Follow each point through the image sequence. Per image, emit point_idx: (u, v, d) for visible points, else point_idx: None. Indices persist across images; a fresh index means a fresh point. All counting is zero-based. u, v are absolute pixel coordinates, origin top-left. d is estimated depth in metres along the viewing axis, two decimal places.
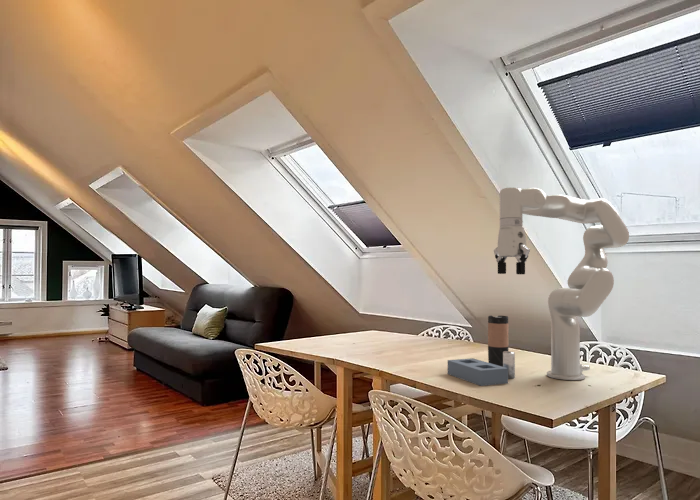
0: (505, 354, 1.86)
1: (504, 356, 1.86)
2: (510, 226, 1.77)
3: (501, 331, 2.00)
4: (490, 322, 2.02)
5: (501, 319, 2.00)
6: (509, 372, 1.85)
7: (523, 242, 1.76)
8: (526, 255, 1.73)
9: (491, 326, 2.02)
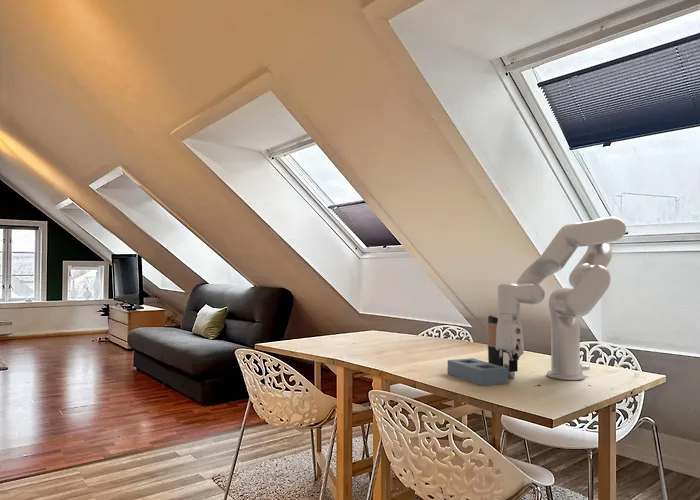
0: (505, 354, 1.85)
1: (504, 356, 1.86)
2: (508, 322, 1.84)
3: None
4: (490, 322, 2.02)
5: None
6: (509, 372, 1.85)
7: (520, 338, 1.83)
8: None
9: (491, 326, 2.02)
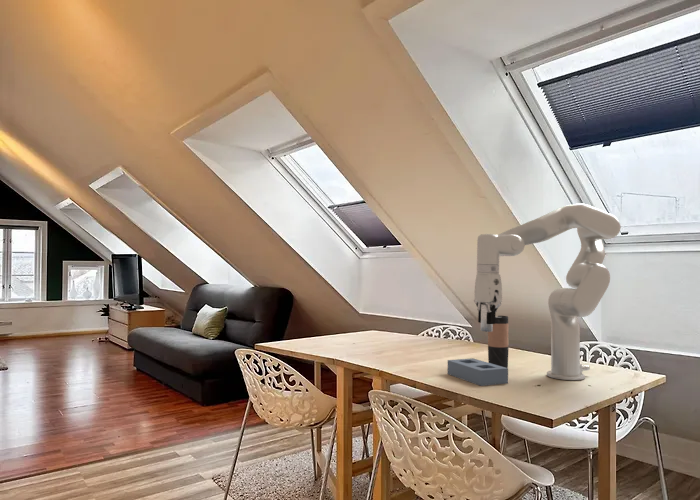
0: (483, 306, 1.80)
1: (482, 308, 1.81)
2: (486, 273, 1.78)
3: (501, 331, 2.00)
4: None
5: (501, 319, 2.00)
6: (486, 324, 1.79)
7: (499, 289, 1.78)
8: None
9: None
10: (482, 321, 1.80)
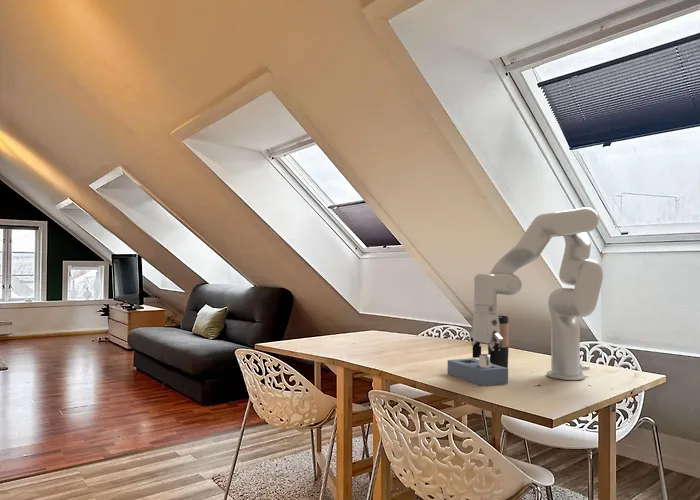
0: (481, 357, 1.79)
1: (480, 359, 1.80)
2: (484, 313, 1.77)
3: (501, 331, 2.00)
4: None
5: (501, 319, 2.00)
6: None
7: (497, 330, 1.77)
8: (499, 344, 1.73)
9: None
10: None
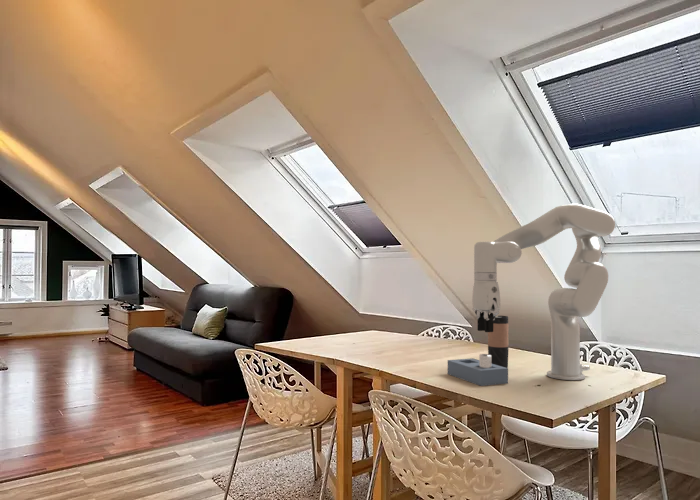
0: (481, 357, 1.79)
1: (480, 359, 1.80)
2: (484, 281, 1.78)
3: (501, 331, 2.00)
4: None
5: (501, 319, 2.00)
6: None
7: (497, 297, 1.77)
8: None
9: None
10: None
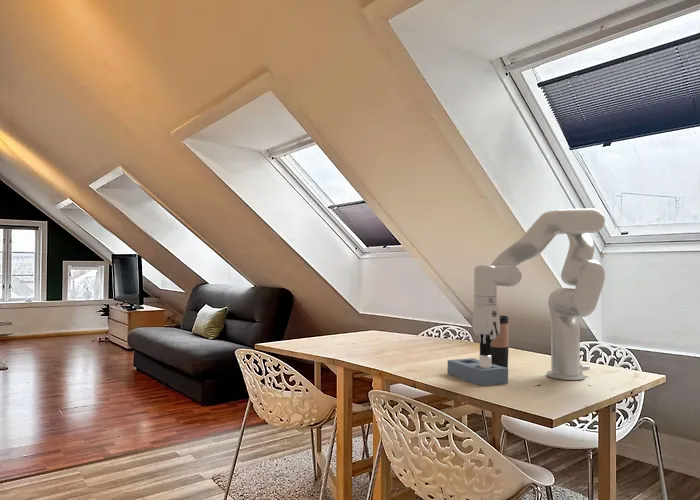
0: (481, 357, 1.79)
1: (480, 359, 1.80)
2: (484, 305, 1.77)
3: (501, 331, 2.00)
4: None
5: (501, 319, 2.00)
6: None
7: (497, 321, 1.77)
8: None
9: None
10: None
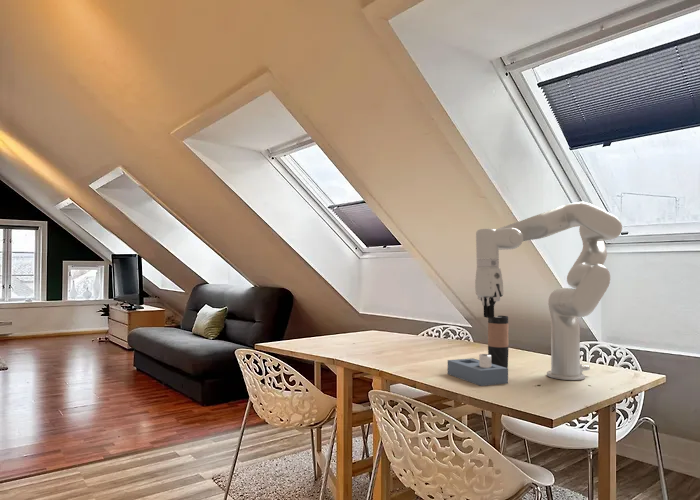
0: (481, 357, 1.79)
1: (480, 359, 1.80)
2: (487, 267, 1.80)
3: (501, 331, 2.00)
4: (490, 322, 2.02)
5: (501, 319, 2.00)
6: None
7: (500, 283, 1.79)
8: None
9: (491, 326, 2.02)
10: None
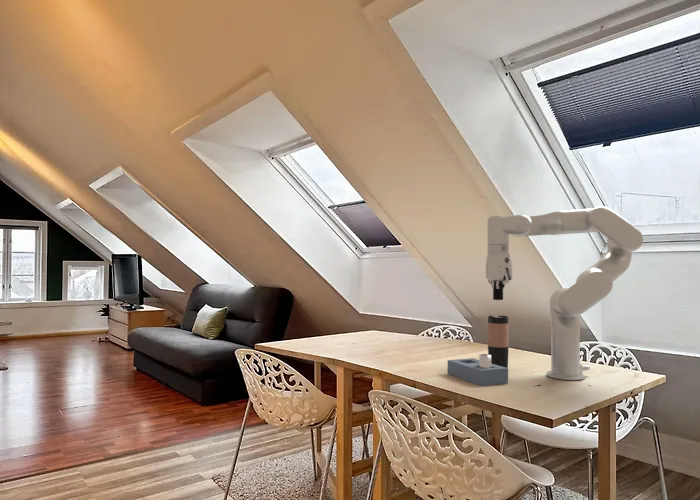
0: (481, 357, 1.79)
1: (480, 359, 1.80)
2: (497, 252, 1.90)
3: (501, 331, 2.00)
4: (490, 322, 2.02)
5: (501, 319, 2.00)
6: None
7: (509, 267, 1.89)
8: None
9: (491, 326, 2.02)
10: None
